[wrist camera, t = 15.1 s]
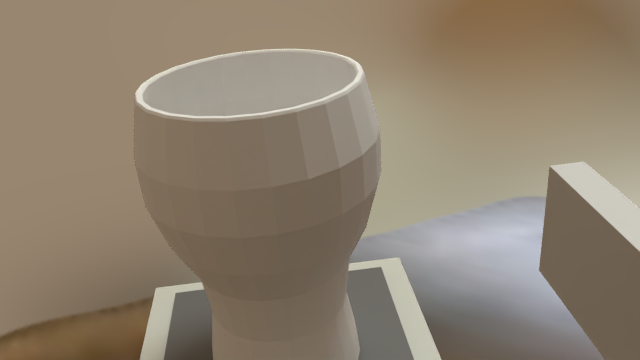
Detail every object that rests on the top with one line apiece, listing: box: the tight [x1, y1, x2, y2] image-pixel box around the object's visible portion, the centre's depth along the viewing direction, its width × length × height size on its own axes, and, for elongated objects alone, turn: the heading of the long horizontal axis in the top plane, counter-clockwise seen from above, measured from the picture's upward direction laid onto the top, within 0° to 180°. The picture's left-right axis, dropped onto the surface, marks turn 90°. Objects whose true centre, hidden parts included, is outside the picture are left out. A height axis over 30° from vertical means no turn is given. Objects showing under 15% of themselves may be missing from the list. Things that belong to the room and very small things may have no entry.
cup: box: [134, 49, 381, 360], centre depth 28 cm, size 11×11×15 cm
